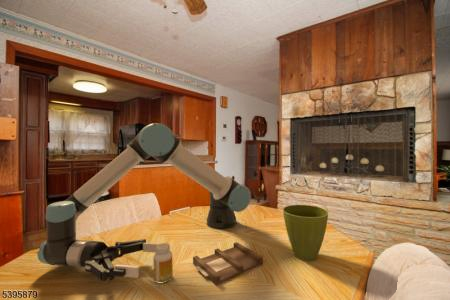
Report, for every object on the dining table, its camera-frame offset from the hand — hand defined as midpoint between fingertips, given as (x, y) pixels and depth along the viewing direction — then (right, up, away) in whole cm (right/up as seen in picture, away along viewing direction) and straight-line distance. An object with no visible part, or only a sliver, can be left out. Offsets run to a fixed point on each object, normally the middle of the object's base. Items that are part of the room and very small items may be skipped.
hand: (151, 259), depth 64 cm
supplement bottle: (+4, -6, 0) cm, 7 cm away
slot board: (+23, -5, +7) cm, 25 cm away
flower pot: (+50, -5, +12) cm, 52 cm away
